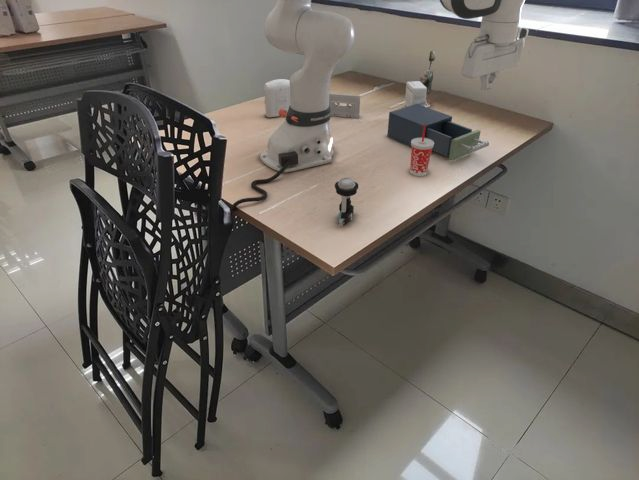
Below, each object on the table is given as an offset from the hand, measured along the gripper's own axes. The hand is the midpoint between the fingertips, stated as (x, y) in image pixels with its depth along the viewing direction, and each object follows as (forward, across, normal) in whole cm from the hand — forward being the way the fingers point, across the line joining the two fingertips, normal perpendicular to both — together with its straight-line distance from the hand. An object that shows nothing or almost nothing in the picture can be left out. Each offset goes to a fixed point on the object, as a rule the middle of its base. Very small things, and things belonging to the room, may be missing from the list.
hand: (486, 89), depth 119 cm
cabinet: (+21, 0, +21) cm, 30 cm away
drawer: (+20, 0, +7) cm, 21 cm away
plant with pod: (+21, +25, +42) cm, 53 cm away
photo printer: (+21, -23, +66) cm, 73 cm away
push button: (+21, -49, -1) cm, 53 cm away
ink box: (+21, +12, +34) cm, 42 cm away
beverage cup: (+21, -17, +5) cm, 28 cm away
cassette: (+21, -6, +51) cm, 55 cm away
